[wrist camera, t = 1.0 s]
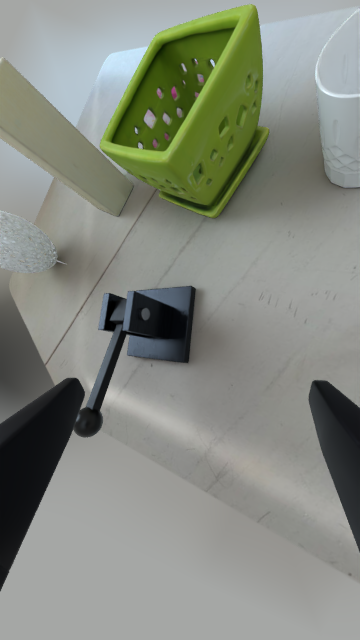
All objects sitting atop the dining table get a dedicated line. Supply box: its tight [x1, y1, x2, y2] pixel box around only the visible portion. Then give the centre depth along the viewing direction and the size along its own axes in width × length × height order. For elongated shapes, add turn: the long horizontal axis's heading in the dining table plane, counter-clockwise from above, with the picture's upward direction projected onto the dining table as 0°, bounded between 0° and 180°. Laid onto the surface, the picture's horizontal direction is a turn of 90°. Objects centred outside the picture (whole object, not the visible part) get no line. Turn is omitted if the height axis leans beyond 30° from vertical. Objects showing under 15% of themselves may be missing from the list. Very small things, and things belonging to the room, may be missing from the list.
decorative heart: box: [0, 211, 67, 273], centre depth 46 cm, size 18×11×17 cm, turn 61°
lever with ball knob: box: [73, 299, 127, 437], centre depth 25 cm, size 15×3×3 cm, turn 173°
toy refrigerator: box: [0, 57, 133, 216], centre depth 36 cm, size 8×7×21 cm
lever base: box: [98, 286, 196, 363], centre depth 29 cm, size 10×10×9 cm
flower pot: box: [100, 4, 269, 218], centre depth 27 cm, size 14×14×13 cm
